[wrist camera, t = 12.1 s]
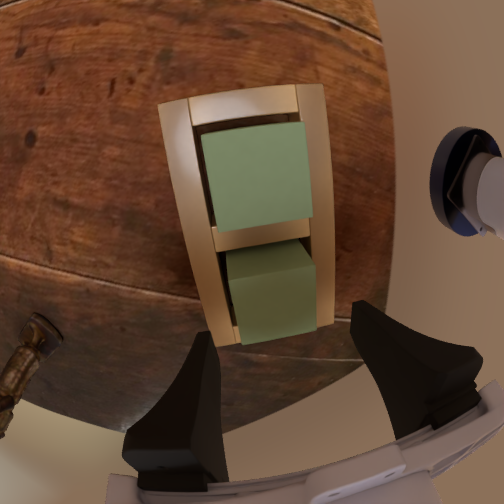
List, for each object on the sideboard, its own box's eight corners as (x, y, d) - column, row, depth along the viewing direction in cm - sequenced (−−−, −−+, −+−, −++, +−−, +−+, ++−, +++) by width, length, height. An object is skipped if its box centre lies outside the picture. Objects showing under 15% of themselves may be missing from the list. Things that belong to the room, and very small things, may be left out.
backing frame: (309, 88, 15) (323, 83, 13) (323, 304, 22) (334, 323, 20) (165, 107, 15) (157, 104, 13) (214, 325, 22) (214, 347, 19)
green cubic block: (280, 122, 16) (305, 121, 12) (289, 193, 18) (313, 217, 14) (205, 133, 16) (200, 135, 11) (217, 204, 18) (218, 233, 13)
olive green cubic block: (292, 230, 19) (316, 264, 15) (297, 287, 21) (317, 330, 17) (224, 242, 19) (227, 280, 14) (235, 299, 21) (242, 345, 16)
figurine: (42, 300, 19) (-39, 441, 6) (74, 330, 21) (14, 479, 7) (18, 335, 20) (-42, 449, 7) (45, 360, 22) (-3, 478, 8)
